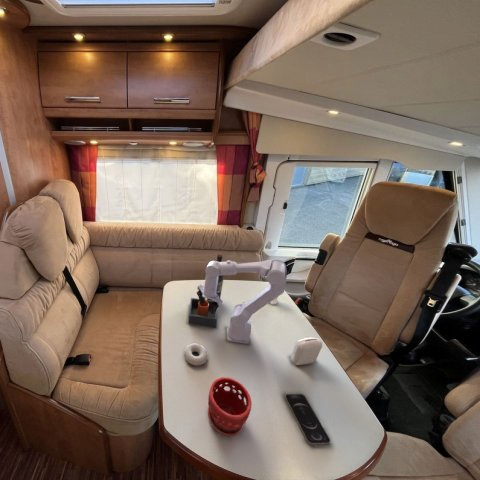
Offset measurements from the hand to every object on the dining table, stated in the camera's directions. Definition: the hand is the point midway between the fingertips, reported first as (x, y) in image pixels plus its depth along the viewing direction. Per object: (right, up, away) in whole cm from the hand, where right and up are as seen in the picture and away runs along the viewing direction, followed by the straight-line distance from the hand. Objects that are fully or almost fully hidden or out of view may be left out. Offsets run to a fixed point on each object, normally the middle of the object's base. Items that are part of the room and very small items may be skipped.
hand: (207, 308), depth 113 cm
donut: (-8, -17, -12) cm, 23 cm away
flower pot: (-1, -28, -33) cm, 43 cm away
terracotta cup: (-1, -6, +9) cm, 12 cm away
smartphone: (+27, -28, -33) cm, 51 cm away
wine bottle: (+8, -2, +20) cm, 22 cm away
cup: (+41, -2, +21) cm, 46 cm away
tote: (-1, -7, +10) cm, 12 cm away
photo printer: (+38, -19, -13) cm, 44 cm away
